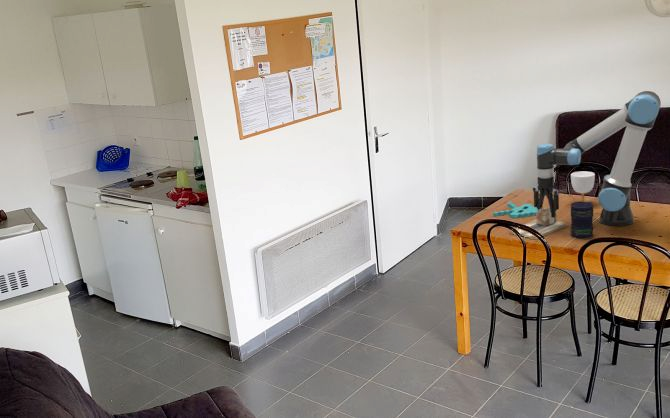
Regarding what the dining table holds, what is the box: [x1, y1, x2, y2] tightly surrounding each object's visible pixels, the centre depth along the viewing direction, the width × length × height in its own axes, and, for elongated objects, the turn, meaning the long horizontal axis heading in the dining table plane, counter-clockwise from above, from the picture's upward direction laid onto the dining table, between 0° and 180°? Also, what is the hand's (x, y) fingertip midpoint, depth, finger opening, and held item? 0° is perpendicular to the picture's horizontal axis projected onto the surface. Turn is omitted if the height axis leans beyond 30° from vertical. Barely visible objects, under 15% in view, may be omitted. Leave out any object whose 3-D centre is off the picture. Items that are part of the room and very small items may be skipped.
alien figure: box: [492, 202, 538, 219], centre depth 348 cm, size 20×2×20 cm
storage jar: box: [570, 201, 594, 240], centre depth 304 cm, size 10×10×15 cm
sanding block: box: [535, 206, 557, 226], centre depth 321 cm, size 5×9×6 cm, turn 129°
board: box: [508, 219, 567, 239], centre depth 319 cm, size 15×24×2 cm, turn 128°
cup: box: [570, 170, 596, 202], centre depth 345 cm, size 12×12×17 cm
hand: (546, 222), depth 322 cm, fingers closed on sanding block, 5 cm apart
